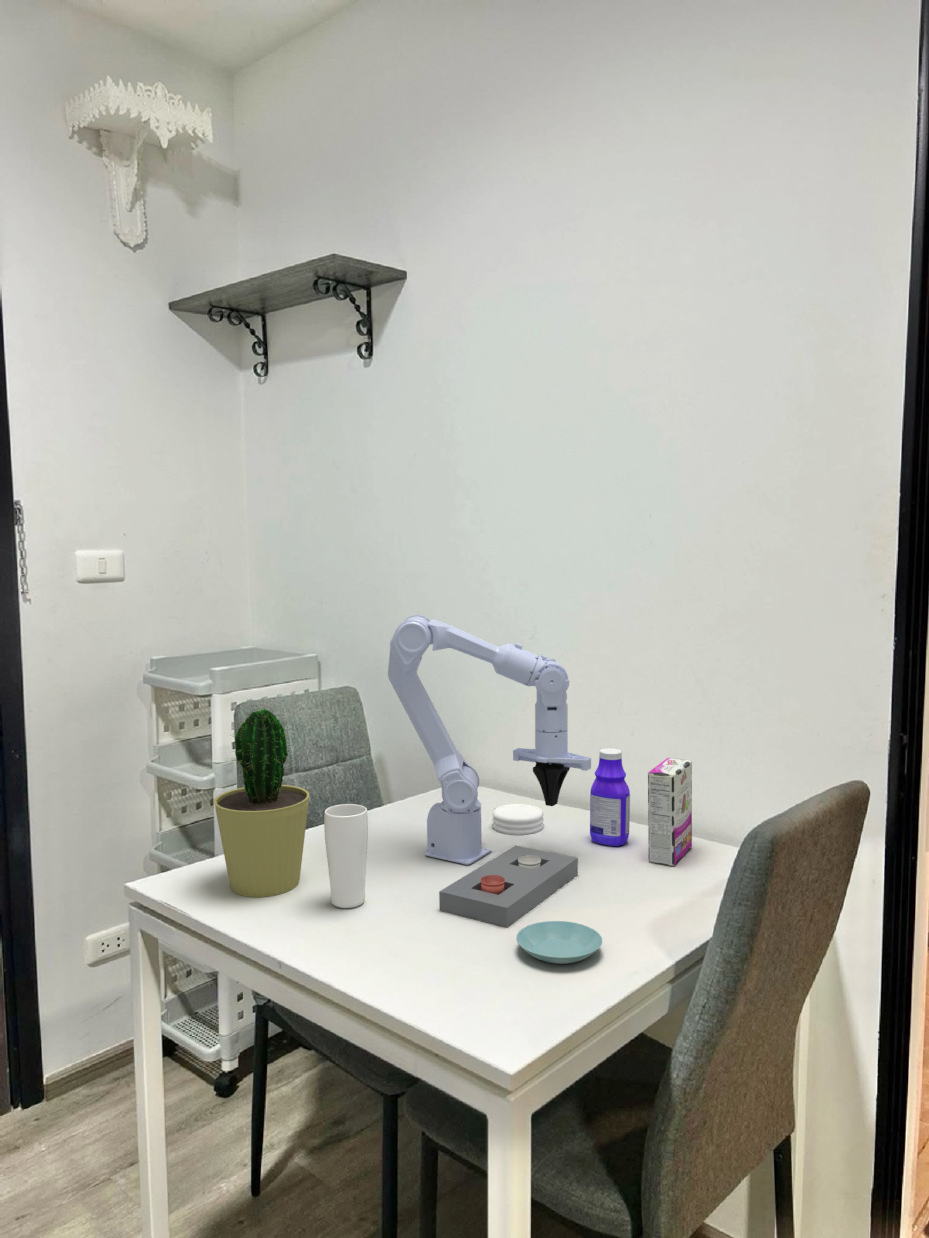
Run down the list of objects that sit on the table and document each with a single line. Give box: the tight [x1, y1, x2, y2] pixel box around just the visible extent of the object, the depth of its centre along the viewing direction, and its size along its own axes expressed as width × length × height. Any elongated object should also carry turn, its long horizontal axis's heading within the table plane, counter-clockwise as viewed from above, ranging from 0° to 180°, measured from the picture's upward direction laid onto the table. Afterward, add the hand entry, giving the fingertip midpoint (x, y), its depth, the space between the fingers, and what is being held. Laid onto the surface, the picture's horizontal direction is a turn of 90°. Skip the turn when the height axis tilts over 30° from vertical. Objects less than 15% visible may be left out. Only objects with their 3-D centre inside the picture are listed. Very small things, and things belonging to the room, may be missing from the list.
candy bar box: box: [647, 757, 693, 867], centre depth 164 cm, size 11×5×16 cm, turn 150°
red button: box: [481, 875, 505, 895], centre depth 143 cm, size 4×4×3 cm
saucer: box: [516, 920, 603, 965], centre depth 127 cm, size 12×12×2 cm
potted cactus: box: [213, 707, 310, 898], centre depth 152 cm, size 15×15×30 cm
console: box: [438, 845, 579, 928], centre depth 148 cm, size 24×12×3 cm, turn 148°
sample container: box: [518, 855, 541, 870], centre depth 153 cm, size 4×4×3 cm
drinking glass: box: [323, 803, 369, 909], centre depth 144 cm, size 7×7×15 cm
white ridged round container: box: [491, 803, 544, 836], centre depth 181 cm, size 10×10×4 cm
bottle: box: [589, 747, 631, 847], centre depth 171 cm, size 7×6×17 cm
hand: (551, 804), depth 164 cm, fingers closed
